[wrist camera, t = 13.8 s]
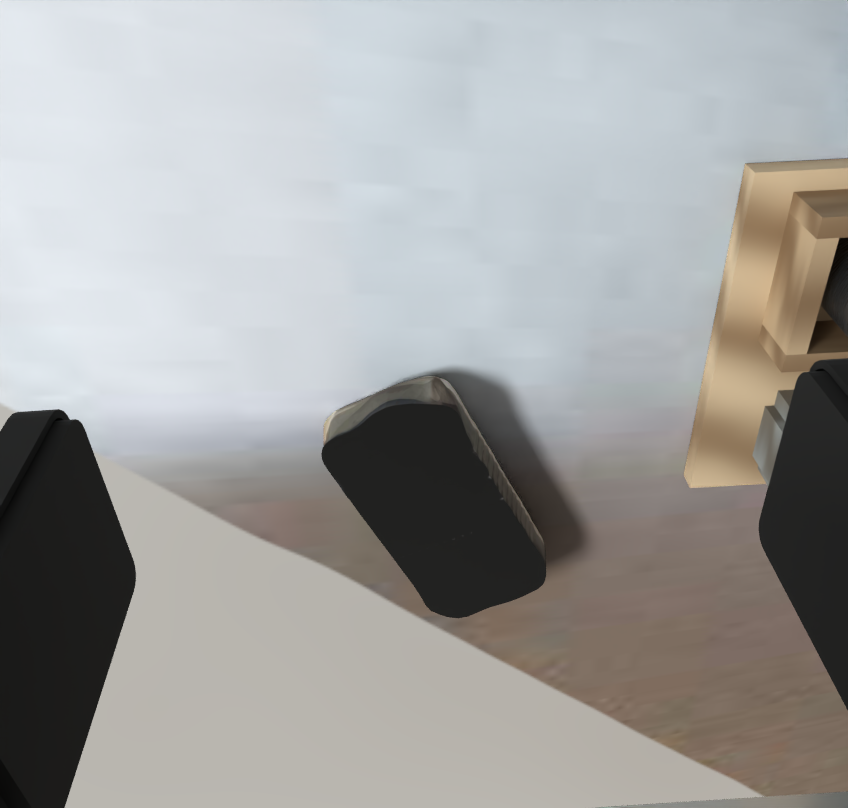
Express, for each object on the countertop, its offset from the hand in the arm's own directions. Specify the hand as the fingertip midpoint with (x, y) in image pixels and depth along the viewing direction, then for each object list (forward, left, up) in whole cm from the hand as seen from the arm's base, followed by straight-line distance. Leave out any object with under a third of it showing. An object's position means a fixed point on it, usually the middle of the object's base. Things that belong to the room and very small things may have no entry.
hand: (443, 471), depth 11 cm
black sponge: (+25, +1, -29) cm, 38 cm away
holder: (+16, +22, -28) cm, 39 cm away
